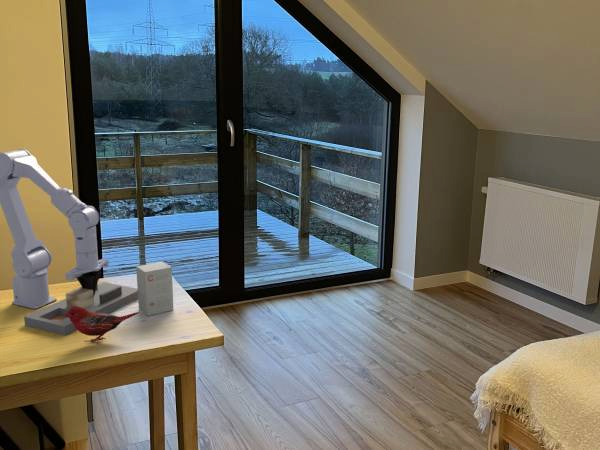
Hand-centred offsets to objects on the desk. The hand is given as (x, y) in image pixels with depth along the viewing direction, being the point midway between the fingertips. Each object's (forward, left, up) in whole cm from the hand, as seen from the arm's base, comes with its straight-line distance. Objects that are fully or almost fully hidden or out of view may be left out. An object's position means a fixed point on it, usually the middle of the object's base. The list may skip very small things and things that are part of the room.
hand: (89, 296), depth 165 cm
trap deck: (0, -2, -3) cm, 4 cm away
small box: (+17, +7, -4) cm, 19 cm away
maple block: (0, -4, -1) cm, 4 cm away
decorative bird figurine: (+18, -14, -4) cm, 23 cm away
